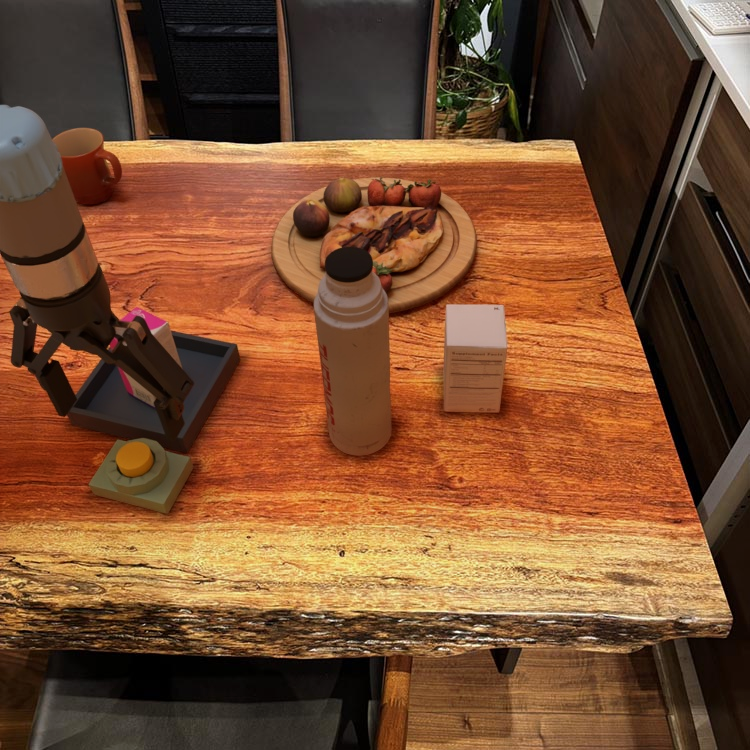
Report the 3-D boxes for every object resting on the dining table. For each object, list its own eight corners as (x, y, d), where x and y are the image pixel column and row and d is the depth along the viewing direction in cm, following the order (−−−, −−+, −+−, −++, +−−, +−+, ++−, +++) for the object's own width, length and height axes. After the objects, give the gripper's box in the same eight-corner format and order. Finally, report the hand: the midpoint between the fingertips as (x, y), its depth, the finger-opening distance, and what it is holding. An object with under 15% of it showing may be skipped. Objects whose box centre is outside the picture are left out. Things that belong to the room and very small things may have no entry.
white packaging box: (442, 370, 108) (445, 301, 99) (497, 371, 108) (506, 303, 98) (441, 413, 103) (445, 345, 94) (499, 414, 103) (509, 346, 93)
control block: (93, 494, 97) (83, 475, 94) (122, 449, 101) (113, 429, 98) (168, 514, 94) (160, 495, 91) (193, 467, 99) (187, 447, 96)
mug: (57, 203, 136) (36, 150, 129) (90, 175, 142) (71, 123, 134) (114, 219, 133) (96, 166, 125) (146, 190, 138) (130, 137, 130)
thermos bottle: (329, 458, 99) (308, 289, 78) (327, 408, 104) (307, 238, 83) (394, 453, 99) (390, 284, 78) (389, 404, 104) (384, 232, 84)
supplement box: (188, 382, 107) (169, 321, 99) (157, 412, 104) (135, 351, 96) (157, 365, 110) (136, 304, 101) (126, 393, 106) (101, 333, 98)
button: (113, 473, 94) (109, 464, 93) (130, 447, 97) (126, 438, 95) (143, 481, 93) (140, 472, 92) (159, 454, 96) (156, 445, 95)
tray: (71, 425, 104) (64, 410, 102) (133, 336, 114) (128, 321, 112) (187, 453, 100) (182, 438, 98) (240, 359, 111) (237, 343, 108)
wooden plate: (452, 336, 112) (454, 292, 106) (241, 299, 119) (231, 255, 113) (493, 202, 133) (497, 158, 126) (310, 176, 139) (306, 134, 133)
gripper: (199, 271, 73) (237, 417, 89) (-32, 229, 79) (43, 374, 95) (162, 327, 69) (209, 470, 84) (-81, 279, 74) (6, 422, 90)
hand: (121, 420), depth 90 cm, fingers open, 13 cm apart
